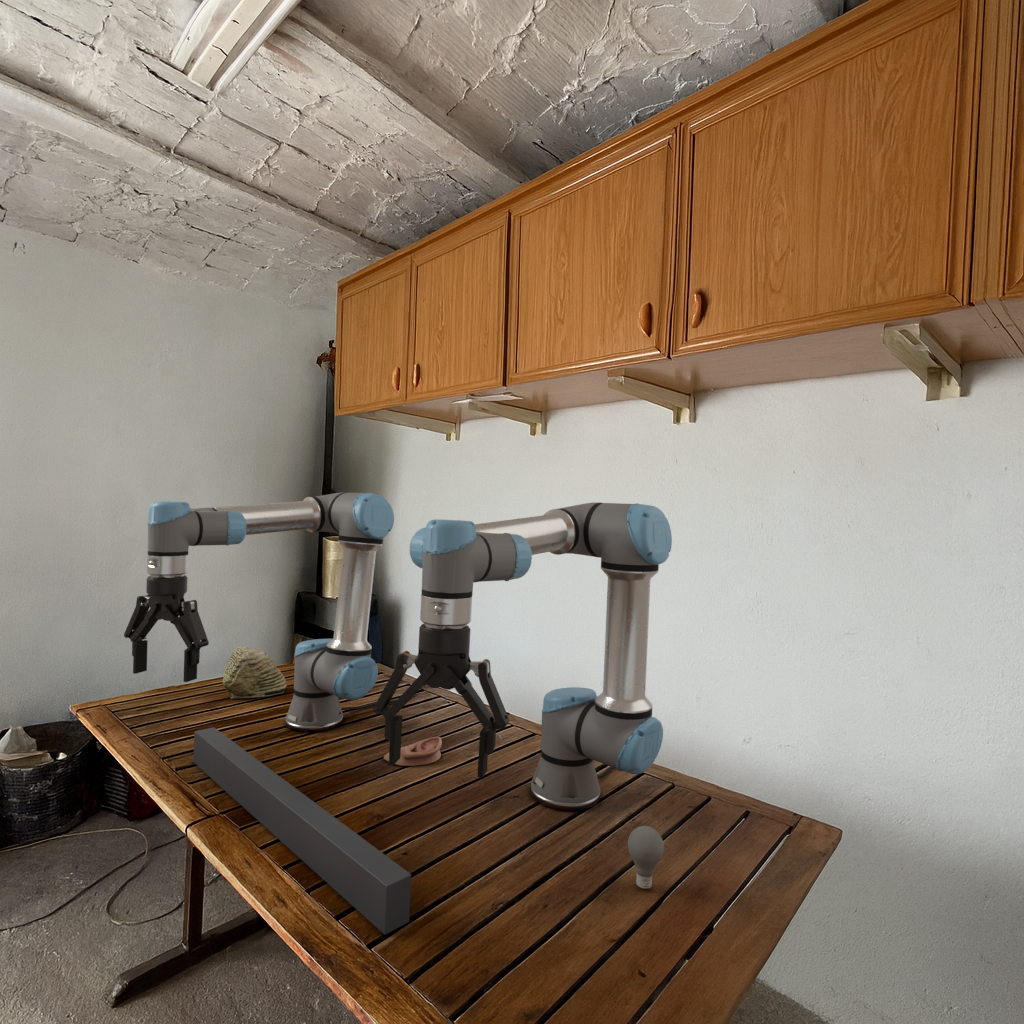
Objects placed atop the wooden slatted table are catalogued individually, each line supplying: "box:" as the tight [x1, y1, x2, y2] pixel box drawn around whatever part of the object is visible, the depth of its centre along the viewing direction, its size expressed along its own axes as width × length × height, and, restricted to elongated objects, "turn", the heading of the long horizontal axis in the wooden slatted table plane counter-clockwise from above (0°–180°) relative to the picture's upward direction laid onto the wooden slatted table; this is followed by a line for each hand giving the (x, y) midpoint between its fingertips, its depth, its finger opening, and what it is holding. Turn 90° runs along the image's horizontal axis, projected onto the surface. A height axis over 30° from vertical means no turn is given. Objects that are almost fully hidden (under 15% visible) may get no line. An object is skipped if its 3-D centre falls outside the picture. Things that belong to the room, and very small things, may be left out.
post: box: [192, 726, 412, 936], centre depth 122 cm, size 79×4×7 cm, turn 45°
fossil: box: [222, 646, 288, 699], centre depth 198 cm, size 9×18×15 cm, turn 132°
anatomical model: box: [383, 736, 443, 767], centre depth 156 cm, size 13×4×12 cm
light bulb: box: [627, 825, 665, 890], centre depth 107 cm, size 6×6×10 cm
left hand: (164, 676), depth 133 cm, fingers open, 13 cm apart
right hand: (437, 767), depth 93 cm, fingers open, 13 cm apart
